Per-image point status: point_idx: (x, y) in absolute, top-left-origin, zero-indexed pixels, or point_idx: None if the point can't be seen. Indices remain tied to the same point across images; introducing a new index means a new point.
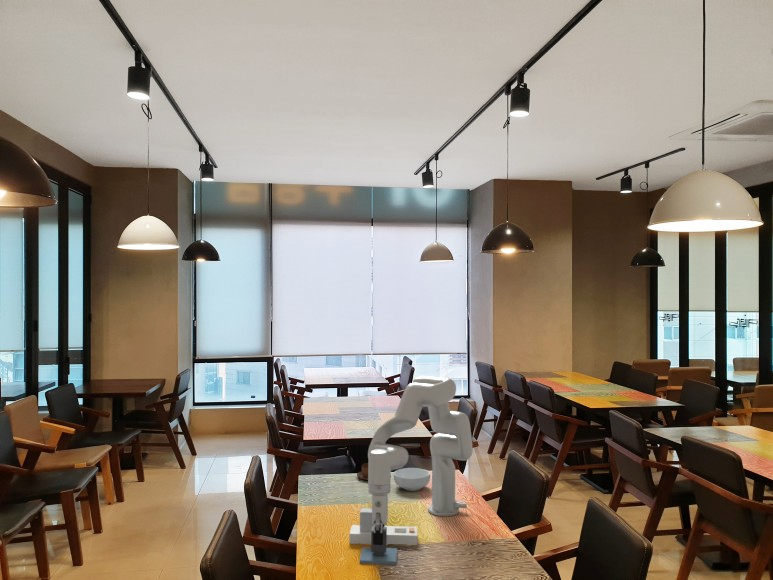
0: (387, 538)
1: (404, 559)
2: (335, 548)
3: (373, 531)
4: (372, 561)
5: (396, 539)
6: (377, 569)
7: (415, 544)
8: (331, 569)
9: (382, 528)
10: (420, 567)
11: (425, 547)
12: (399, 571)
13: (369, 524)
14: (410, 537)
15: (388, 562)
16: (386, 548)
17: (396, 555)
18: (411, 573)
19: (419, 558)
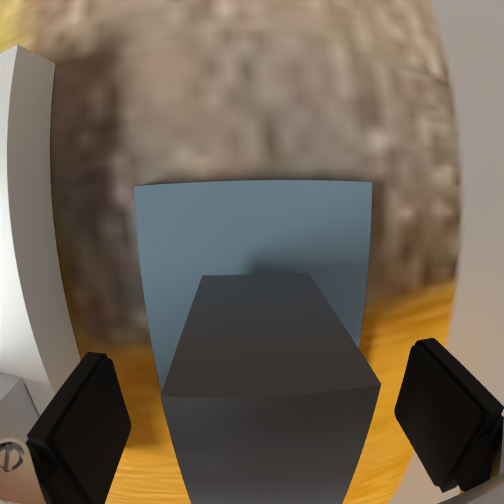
0: (36, 276)
1: (276, 119)
2: (180, 487)
3: (343, 497)
4: (358, 342)
5: (29, 205)
6: (418, 296)
7: (50, 71)
8: (382, 465)
9: (245, 447)
10: (379, 31)
11: (81, 13)
12: (442, 162)
13: (8, 431)
14: (19, 96)
15: (366, 237)
16: (237, 276)
17: (268, 180)
18: (453, 96)
19: (249, 21)
